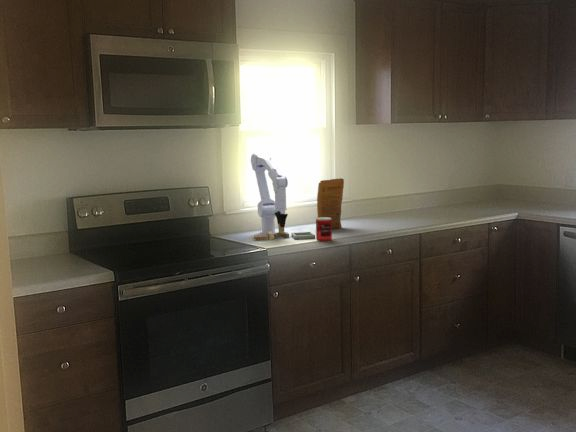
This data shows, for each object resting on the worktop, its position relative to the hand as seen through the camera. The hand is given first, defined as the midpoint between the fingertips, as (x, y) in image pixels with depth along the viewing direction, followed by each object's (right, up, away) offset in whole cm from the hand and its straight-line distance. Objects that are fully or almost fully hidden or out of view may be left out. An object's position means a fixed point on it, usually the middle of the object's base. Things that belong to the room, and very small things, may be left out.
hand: (281, 226), depth 336 cm
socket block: (0, -6, +1) cm, 6 cm away
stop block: (-5, -6, -3) cm, 9 cm away
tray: (+11, -6, -3) cm, 13 cm away
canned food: (+22, -7, -13) cm, 26 cm away
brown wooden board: (-11, -7, -4) cm, 13 cm away
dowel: (0, -6, +1) cm, 6 cm away
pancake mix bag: (+27, -2, +26) cm, 38 cm away
